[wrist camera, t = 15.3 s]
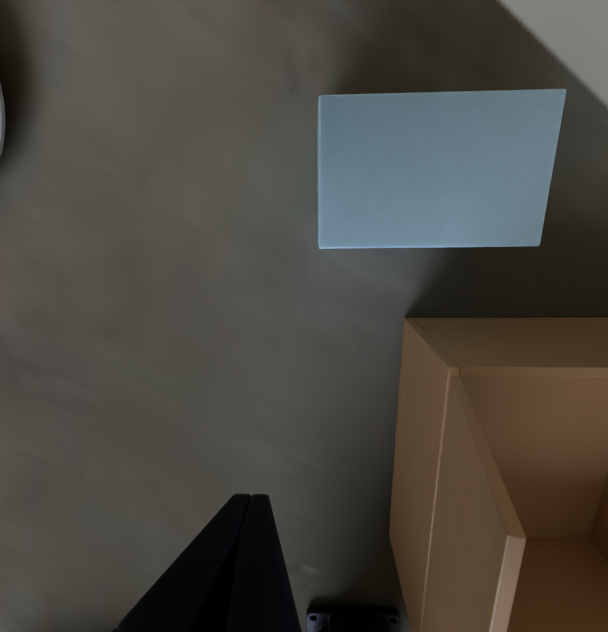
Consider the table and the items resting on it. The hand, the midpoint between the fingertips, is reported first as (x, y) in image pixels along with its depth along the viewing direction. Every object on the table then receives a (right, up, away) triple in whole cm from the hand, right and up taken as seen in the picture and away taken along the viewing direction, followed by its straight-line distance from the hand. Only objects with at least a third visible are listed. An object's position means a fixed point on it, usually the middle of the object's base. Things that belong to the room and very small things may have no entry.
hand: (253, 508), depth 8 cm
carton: (+13, -3, +12) cm, 18 cm away
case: (+6, +11, +8) cm, 15 cm away
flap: (+6, -5, +2) cm, 8 cm away
